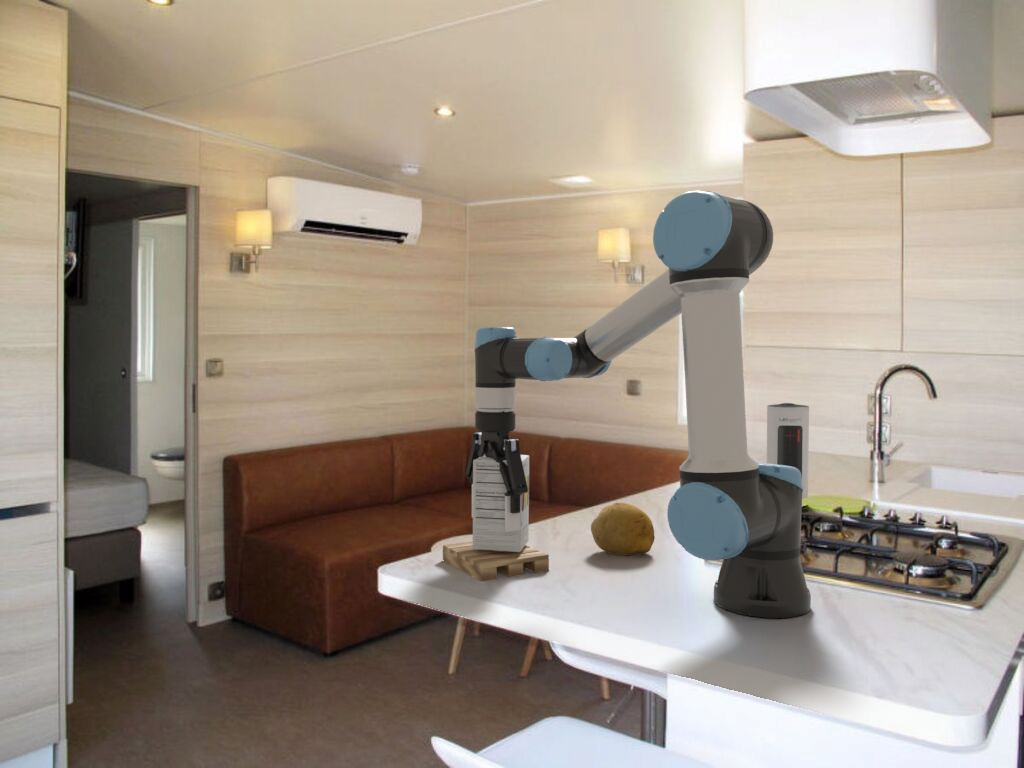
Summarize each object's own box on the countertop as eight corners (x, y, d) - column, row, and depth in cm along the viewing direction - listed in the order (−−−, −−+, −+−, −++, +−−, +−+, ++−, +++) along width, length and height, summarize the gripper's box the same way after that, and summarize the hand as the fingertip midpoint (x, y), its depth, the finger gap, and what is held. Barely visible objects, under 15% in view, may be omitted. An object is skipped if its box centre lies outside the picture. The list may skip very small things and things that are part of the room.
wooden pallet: (548, 570, 158) (548, 554, 158) (481, 581, 151) (481, 564, 151) (506, 551, 172) (506, 536, 171) (442, 560, 165) (442, 545, 164)
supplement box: (520, 553, 156) (521, 461, 155) (471, 550, 158) (472, 459, 157) (529, 540, 165) (530, 454, 164) (482, 537, 167) (483, 452, 166)
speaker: (762, 506, 218) (764, 404, 217) (767, 499, 228) (769, 401, 226) (806, 509, 214) (809, 405, 212) (809, 502, 224) (811, 402, 222)
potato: (653, 561, 165) (654, 510, 164) (588, 557, 167) (589, 507, 167) (655, 548, 175) (655, 499, 174) (594, 545, 177) (594, 497, 177)
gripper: (547, 414, 151) (546, 534, 152) (482, 404, 172) (482, 509, 173) (510, 416, 147) (510, 539, 148) (448, 405, 168) (448, 513, 169)
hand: (495, 523), depth 161 cm, fingers closed on supplement box, 12 cm apart
